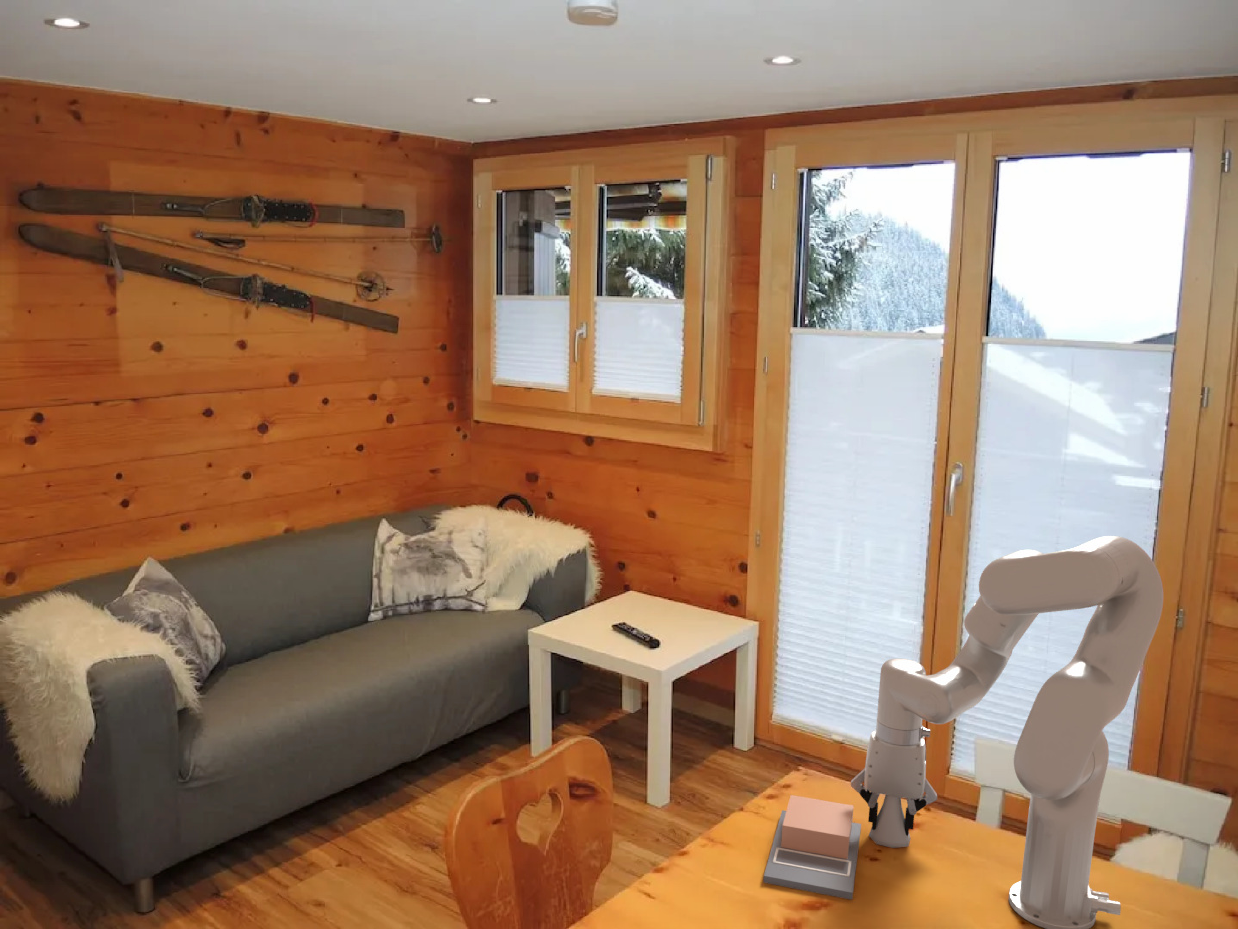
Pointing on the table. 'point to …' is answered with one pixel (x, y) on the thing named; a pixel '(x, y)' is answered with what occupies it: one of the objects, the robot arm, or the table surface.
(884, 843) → the flask
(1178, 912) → the table surface
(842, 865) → the build base
